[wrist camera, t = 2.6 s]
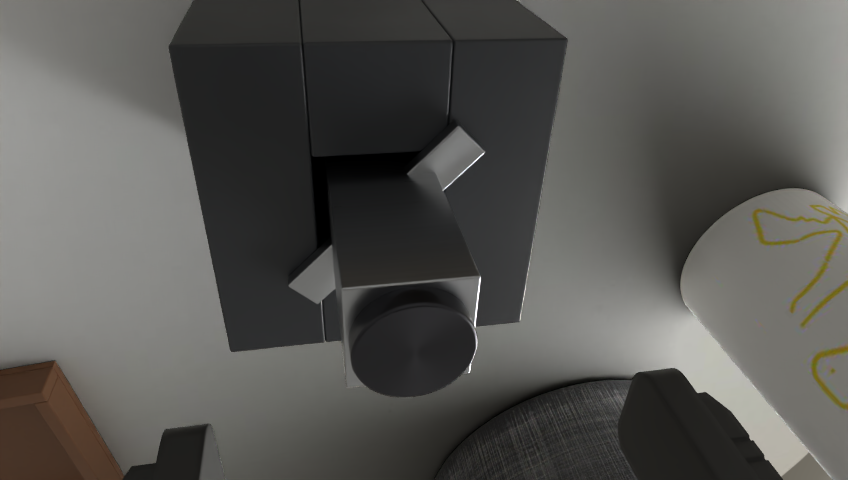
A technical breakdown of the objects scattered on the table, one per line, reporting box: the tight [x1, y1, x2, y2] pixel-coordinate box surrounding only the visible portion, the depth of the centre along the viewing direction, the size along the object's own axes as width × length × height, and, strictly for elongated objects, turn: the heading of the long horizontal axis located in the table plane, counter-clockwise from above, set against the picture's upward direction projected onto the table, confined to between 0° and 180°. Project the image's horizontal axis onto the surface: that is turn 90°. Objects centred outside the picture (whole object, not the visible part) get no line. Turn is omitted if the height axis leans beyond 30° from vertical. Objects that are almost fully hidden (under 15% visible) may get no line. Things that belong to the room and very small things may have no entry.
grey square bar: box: [288, 120, 485, 397], centre depth 19 cm, size 6×6×15 cm
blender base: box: [168, 0, 568, 352], centre depth 23 cm, size 10×10×14 cm
